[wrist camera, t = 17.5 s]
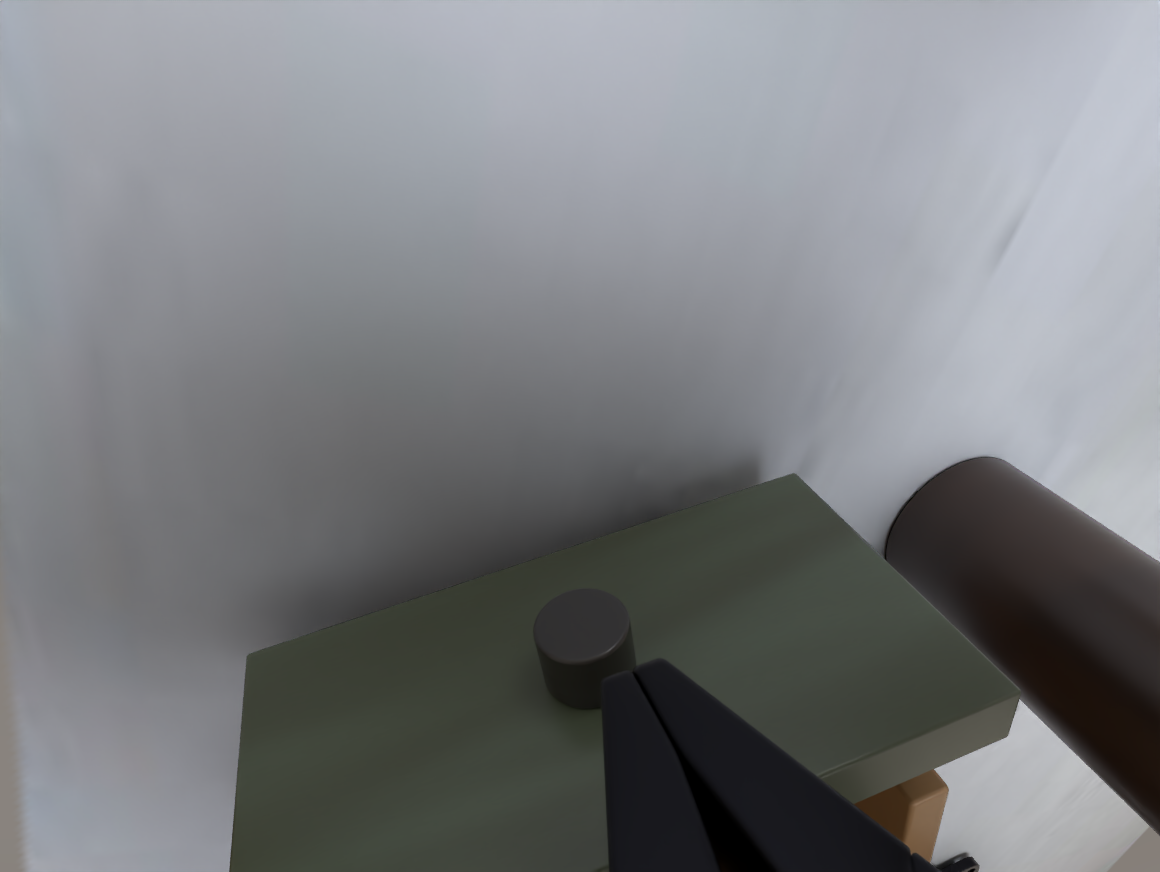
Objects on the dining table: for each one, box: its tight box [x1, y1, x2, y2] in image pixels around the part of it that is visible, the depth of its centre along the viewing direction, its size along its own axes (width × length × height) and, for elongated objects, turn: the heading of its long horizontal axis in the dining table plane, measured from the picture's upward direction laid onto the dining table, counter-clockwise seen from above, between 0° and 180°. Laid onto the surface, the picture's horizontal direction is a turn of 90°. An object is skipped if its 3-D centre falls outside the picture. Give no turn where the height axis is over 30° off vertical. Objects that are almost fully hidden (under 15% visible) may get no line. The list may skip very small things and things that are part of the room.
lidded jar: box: [886, 457, 1160, 835], centre depth 16 cm, size 4×4×12 cm
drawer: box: [229, 473, 1021, 872], centre depth 15 cm, size 13×12×6 cm
